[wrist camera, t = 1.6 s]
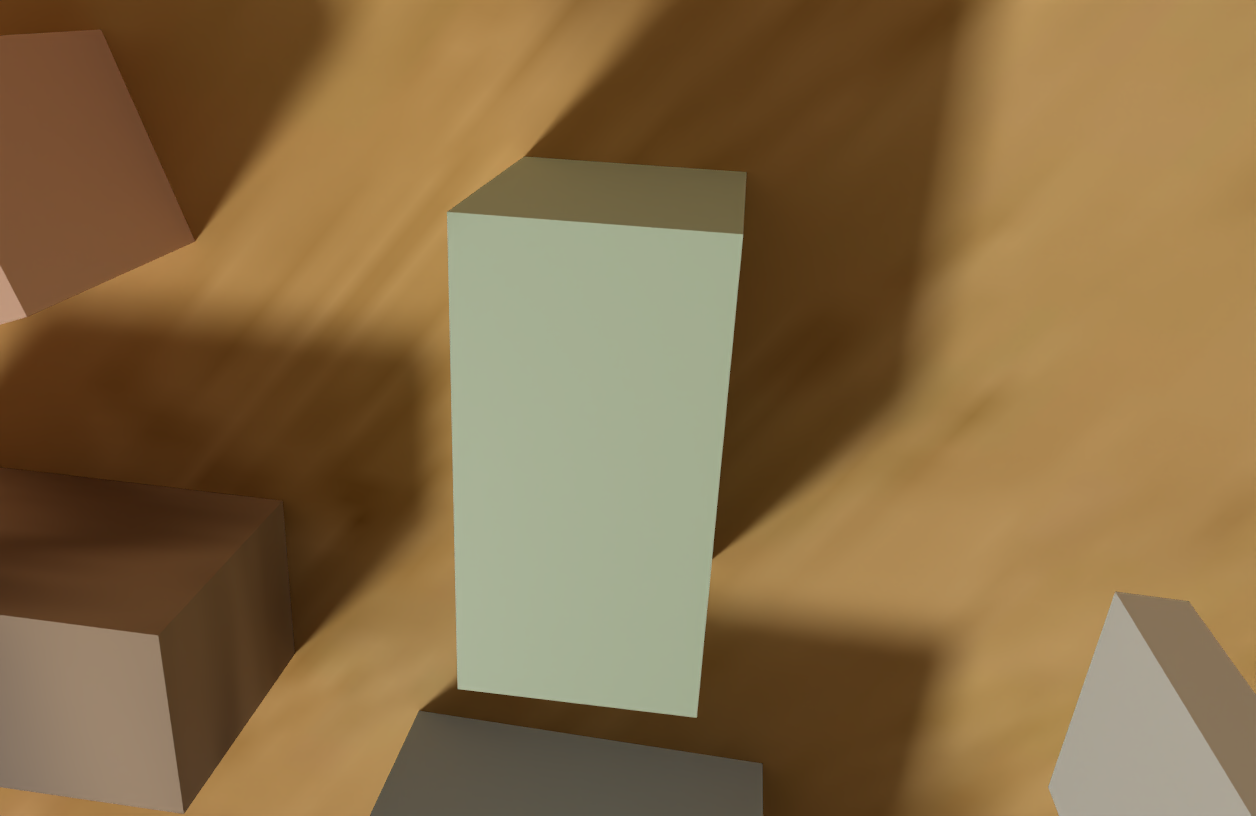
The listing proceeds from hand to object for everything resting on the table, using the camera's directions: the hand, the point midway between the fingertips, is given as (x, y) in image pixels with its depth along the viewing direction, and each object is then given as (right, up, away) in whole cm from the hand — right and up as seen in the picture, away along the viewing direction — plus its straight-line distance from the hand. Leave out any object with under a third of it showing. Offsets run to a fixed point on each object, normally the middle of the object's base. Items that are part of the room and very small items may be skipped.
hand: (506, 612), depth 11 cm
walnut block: (-10, -1, +11) cm, 15 cm away
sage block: (+1, +3, +8) cm, 9 cm away
